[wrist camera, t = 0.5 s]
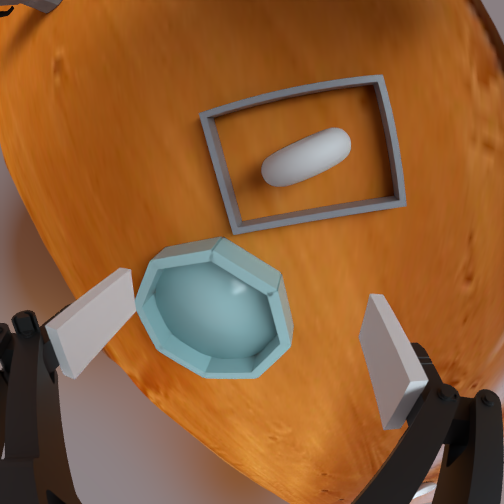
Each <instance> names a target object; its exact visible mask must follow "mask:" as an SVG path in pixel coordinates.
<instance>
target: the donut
mask: <svg viewBox="0 0 504 504" xmlns="http://www.w3.org/2000/svg"><path fill="white" fill-rule="evenodd" d="M350 150H351V141H350V138H349V136H348V134H347V133H346V132H345V131H343V130H342V129H339V128H329V129H325V130H322V131H320V132H317V133H315V134H312V135H310V136H308V137H306V138H303V139H301V140H299V141H297V142H295V143H293V144H291V145H289V146H287V147H285V148H283V149H281V150H279V151H277V152H275V153H273V154H272V155H270V156H269V157H267V158H266V159H265V160H264V162H263V164H262V168H261V172H262V176H263V178H264V180H265V181H266V182H267V183H268V184H270V185H272V186H275V187H280V186H288V185H292V184H295V183H298V182H301V181H303V180H306V179H308V178H311V177H313V176H315V175H317V174H319V173H322V172H324V171H326V170H328V169H329V168H331V167H333V166H335V165H336V164H338V163H340V162H341V161H343V160H344V159H345V158H346V157H347V155H348V154H349V152H350Z"/></svg>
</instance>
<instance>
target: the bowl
mask: <svg viewBox="0 0 504 504" xmlns="http://www.w3.org/2000/svg"><path fill="white" fill-rule="evenodd" d="M280 273H281V272H279V271H278V270H276V269H274V268H273V267H271V266H270V265H268V264H266V263H265V262H263V261H262V260H260V259H258V258H257V257H255V256H253V255H252V254H250V253H249V252H247V251H245V250H244V249H242V248H241V247H239V246H237V245H236V244H234V243H233V242H231V241H229V240H228V239H226V238H225V237H223V238H222V236H221V237H216V238H210V239H205V240H200V241H195V242H189V243H184V244H179V245H174V246H169V247H165V248H164V249H163V250H162V251H161V252H159V253H158V254H157V255H156V256H155V257H154V258H153V259H152V260H151V261H150V262H149V265H148V267H147V270H146V272H145V275H144V277H143V280H142V283H141V285H140V288H139V290H138V293H137V296H136V299H135V306H136V311H137V313H138V315H139V317H140V319H141V321H142V323H143V325H144V327H145V329H146V331H147V332H148V334H149V336H150V338H151V340H152V342H153V344H154V345H155V347H156V349H158V351H159V352H161V353H163V354H164V355H166V356H167V357H169V358H171V359H172V360H174V361H176V362H177V363H179V364H181V365H182V366H184V367H186V368H187V369H189V370H191V371H193V372H194V373H196V374H198V375H200V376H202V377H203V378H204V377H205V378H215V379H253V378H258V377H259V376H260V375H262V374H263V373H264V372H265V371H266V370H267V369H268V368H269V367H270V366H271V365H272V364H273V363H274V362H275V361H276V360H278V359H279V358H280V357H281V356H282V355H283V354H284V353H285V352H286V351H287V350H288V349H289V348H290V347H291V343H292V335H293V328H294V325H293V320H292V316H291V311H290V307H289V303H288V298H287V294H286V290H285V285H284V281H283V277H282V274H280Z"/></svg>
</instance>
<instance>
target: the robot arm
mask: <svg viewBox="0 0 504 504" xmlns="http://www.w3.org/2000/svg"><path fill="white" fill-rule="evenodd" d="M135 312H136V306H135V299H134V292H133V284H132V276H131V269H125V268H119V269H118V270H116V271H115V272H113V273H112V274H111V275H109V276H108V277H107V278H105V279H104V280H103V281H101V282H100V283H99V284H97V285H96V286H95V287H93V288H92V289H91V290H89V291H88V292H87V293H85V294H84V295H83V296H81V297H80V298H79V299H78V300H76V301H75V302H74V303H71V304H69V305H67V306H65V307H64V308H63V309H62V310H60V312H58V313H56V314H55V316H53V317H51V318H50V319H49V320H48V321H47V322H45V323H44V324H43V325H42V326H40V327H39V324H38V321H37V318H36V315H35V313H34V312H33V311H30V310H26V311H21V312H19V313H17V314H16V315H14V316H13V317H12V319H11V320H12V323H13V326H14V329H15V331H16V333H11V332H10V330H9V327H8V325H7V324H5V323H0V363H1V364H2V367H3V368H2V370H0V504H82V503H81V502H80V500H79V499H78V497H77V495H76V492H75V489H74V485H73V481H72V477H71V473H70V469H69V464H68V459H67V454H66V448H65V443H64V436H63V429H62V422H61V413H60V403H59V390H58V375H57V371H56V368H57V367H58V366H59V365H60V367H61V370H62V372H63V374H64V375H66V376H68V377H70V378H73V379H76V378H77V377H78V375H79V374H80V373H81V372H82V371H83V370H84V369H85V367H86V366H87V365H88V364H89V363H90V362H91V361H92V359H93V358H94V357H95V356H96V355H97V353H99V351H100V350H101V349H102V348H103V347H104V346H105V345H106V344H107V342H108V341H109V340H110V339H111V338H112V337H113V336H114V335H115V334H116V333H117V331H118V330H119V329H120V328H121V327H122V326H123V325H124V324H125V323H126V322H127V320H128V319H129V318H130V317H131V316H132V315H133V314H134V313H135ZM359 340H360V343H361V347H362V350H363V353H364V357H365V360H366V364H367V367H368V371H369V374H370V378H371V382H372V385H373V389H374V393H375V397H376V401H377V405H378V409H379V413H380V417H381V421H382V425H383V430H389V429H399V428H401V427H402V425H403V424H404V422H405V420H407V423H408V426H409V427H408V428H407V430H406V431H405V433H404V434H403V436H402V437H401V438H400V440H399V441H398V444H397V445H396V447H395V448H394V449H393V451H392V452H391V454H390V455H389V457H388V458H387V459H386V461H385V462H384V463H383V465H382V466H381V468H380V469H379V470H378V471H377V473H376V474H375V475H374V477H373V478H372V479H371V480H370V482H369V483H368V484H367V485H366V486H365V488H364V489H363V490H362V491H361V492H360V494H359V495H358V496H357V497H356V498H355V499H354V500H353V502H352V503H351V504H409V503H410V502H411V500H412V499H413V497H414V495H415V494H416V492H417V491H418V489H419V487H420V486H421V484H422V482H423V480H424V479H425V477H426V475H427V473H428V471H429V469H430V468H431V466H432V464H433V462H434V460H435V458H436V456H437V454H438V452H439V450H440V448H441V446H442V444H445V447H444V453H443V458H442V464H441V469H440V473H439V478H438V482H437V486H436V490H435V494H434V498H433V501H432V504H500V501H501V492H502V480H503V457H504V456H503V455H504V454H503V453H504V452H503V451H504V449H503V448H504V445H503V422H502V410H501V402H500V399H499V397H498V396H497V394H495V393H494V392H493V391H490V390H487V389H483V390H480V391H479V392H478V393H477V394H476V395H475V397H474V398H467V397H460V395H459V393H458V391H457V390H456V389H455V388H454V387H452V386H450V385H448V384H443V382H442V380H441V378H440V376H439V374H438V372H437V370H436V369H435V367H434V365H433V364H432V361H431V359H430V358H429V356H428V354H427V352H426V350H425V349H424V348H423V347H422V346H421V345H420V344H418V343H410V342H409V340H408V338H407V336H406V335H405V333H404V331H403V329H402V327H401V325H400V323H399V322H398V320H397V318H396V316H395V314H394V313H393V311H392V309H391V307H390V306H389V304H388V302H387V300H386V299H385V297H384V295H382V294H370V296H369V300H368V304H367V308H366V312H365V316H364V319H363V323H362V327H361V331H360V334H359ZM4 443H5V458H4V459H1V457H2V452H3V448H4Z"/></svg>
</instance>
